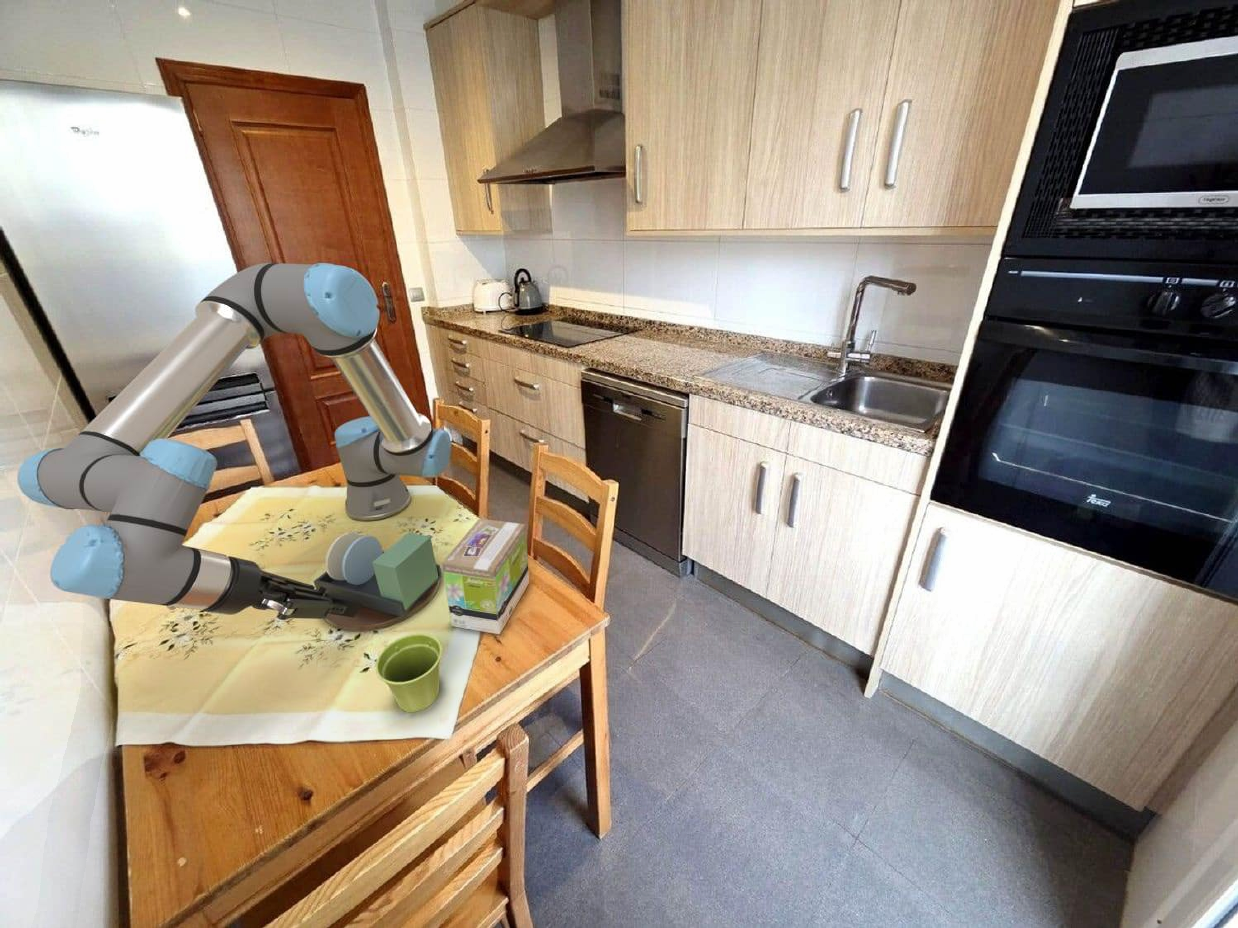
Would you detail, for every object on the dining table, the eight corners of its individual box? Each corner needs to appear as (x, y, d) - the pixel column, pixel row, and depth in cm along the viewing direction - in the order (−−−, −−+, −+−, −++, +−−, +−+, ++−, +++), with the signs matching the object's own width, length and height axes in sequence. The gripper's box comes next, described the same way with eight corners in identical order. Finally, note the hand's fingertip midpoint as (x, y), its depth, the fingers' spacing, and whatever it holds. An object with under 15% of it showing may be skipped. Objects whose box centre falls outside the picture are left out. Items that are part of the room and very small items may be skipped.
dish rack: (317, 593, 98) (302, 549, 93) (363, 557, 108) (351, 515, 103) (402, 617, 92) (390, 571, 88) (442, 577, 103) (433, 533, 98)
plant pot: (462, 683, 81) (455, 644, 77) (420, 732, 74) (409, 692, 70) (418, 664, 85) (409, 625, 81) (373, 709, 77) (360, 669, 73)
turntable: (378, 548, 113) (377, 544, 113) (461, 568, 107) (460, 564, 107) (293, 614, 95) (291, 610, 94) (388, 644, 88) (387, 639, 88)
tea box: (502, 636, 90) (493, 570, 84) (450, 627, 92) (438, 563, 85) (531, 582, 103) (525, 521, 97) (486, 575, 105) (477, 516, 98)
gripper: (179, 586, 70) (324, 610, 90) (216, 631, 64) (364, 647, 84) (212, 538, 72) (348, 573, 92) (252, 578, 65) (389, 605, 85)
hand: (355, 608), depth 88 cm, fingers closed
